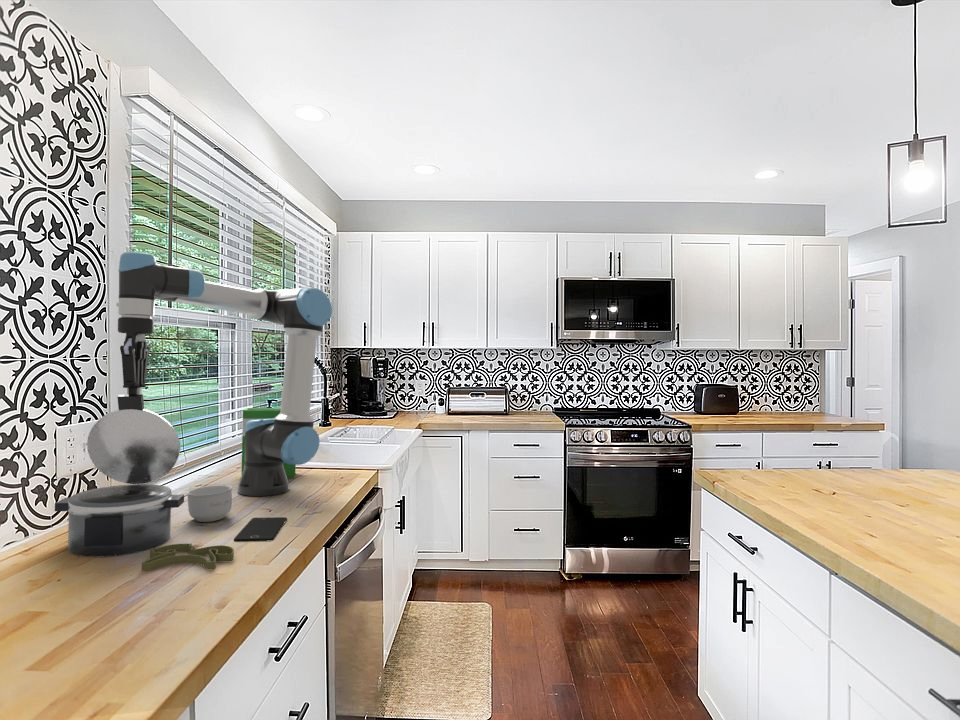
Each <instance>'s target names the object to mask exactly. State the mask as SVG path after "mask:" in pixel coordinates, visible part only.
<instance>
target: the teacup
mask: <svg viewBox="0 0 960 720" xmlns="http://www.w3.org/2000/svg"><path fill="white" fill-rule="evenodd" d="M232 490H233V487H232V486H231V485H226V484H223V483H222V484H217V485H207V486H206V485H205V486H201V487H197V488H194V489H190V490H188V491H187V492H186V495H187V509H188V513H189V515H190V517H192V518H193V519H195V521H197V522H200V523H201V522H202V523H207V522H208V523H209V522H210V523H211V522H216V521H219V520H222V519H224V518H225V517H227V515H228V514H229V513H230V512H231V510H232V505H233V496H232V495H233V494H232V493H233V491H232Z"/></svg>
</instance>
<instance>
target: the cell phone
mask: <svg viewBox="0 0 960 720" xmlns="http://www.w3.org/2000/svg"><path fill="white" fill-rule="evenodd" d="M287 520H288V518H287V517H285V516H284V517H282V516H281V517H279V516H278V517H277V516H276V517H275V516H274V517H273V516H272V517H252V518H251V519H250V520H249V522H248V523H246V525H245V526H244V527H243V528H242V529H241V530H240V532H238V534H237V535H235V537H234V538H233V542H268V541H267V540H272V541H273V540H274V539H275V538H276V536H277V535H278V534H279V532H280V531H279V530H281V529H282V528H283V526H284V525H283V524H285V523H286V522H287ZM285 521H286V522H285ZM284 522H285V523H284ZM282 525H283V526H282ZM281 527H282V528H281ZM280 528H281V529H280ZM278 531H279V532H278ZM276 534H277V535H276ZM274 537H275V538H274Z"/></svg>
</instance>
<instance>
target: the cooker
mask: <svg viewBox="0 0 960 720" xmlns="http://www.w3.org/2000/svg"><path fill="white" fill-rule="evenodd" d="M172 493H173V492H172V488H170V487H168V486H167V485H166V486H165V485H160V484H148V483H144V484H120V485H111V486H105V487H97V488H92V489H89V490H83V491H80V492H78V493H75V494H73V495H70V497H65V498H62V499H61V500H59V501H57V502H55V503H54V512H68V529H67V533H68V534H67V551H68V550H69V551H70V552H71V553H70V552H69V551H68V552H69V553H70V554H72V553H73V555H75V554H77V555H76V556H79V555H82V556H81V557H89V556H104V557H113V556H115V555H116V556H123V554H124V555H129V554H128V553H130V554H133V553H134V552H135V553H139V551H140V552H143V551H147V550H150V549H151V548H156V547H158V546H159V547H160V546H161V545H162V544H165V543H166V542H168V541H169V540H170V538H171V526H172V525H171V523H172V521H171V520H172V519H171V518H172V509H174V508H180V506H181V505H183V504H184V503H185V494H172Z"/></svg>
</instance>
